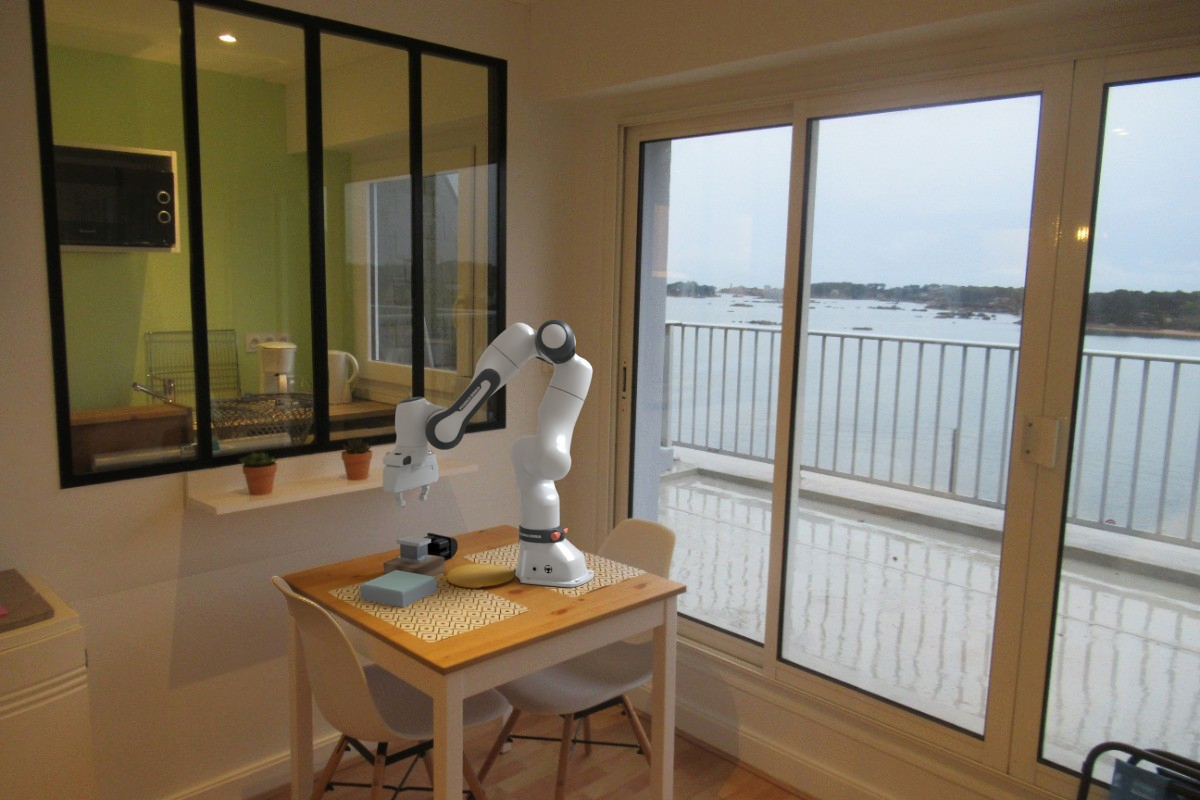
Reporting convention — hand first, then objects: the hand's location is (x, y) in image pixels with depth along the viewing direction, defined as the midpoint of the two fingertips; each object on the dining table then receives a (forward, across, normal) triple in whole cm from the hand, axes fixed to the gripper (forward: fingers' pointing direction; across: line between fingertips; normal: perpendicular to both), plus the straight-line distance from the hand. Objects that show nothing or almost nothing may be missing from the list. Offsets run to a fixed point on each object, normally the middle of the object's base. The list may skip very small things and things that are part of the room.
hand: (412, 503), depth 238 cm
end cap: (+20, -16, -4) cm, 26 cm away
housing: (+16, 0, 0) cm, 16 cm away
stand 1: (+20, 0, 0) cm, 20 cm away
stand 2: (+20, +16, +8) cm, 27 cm away
